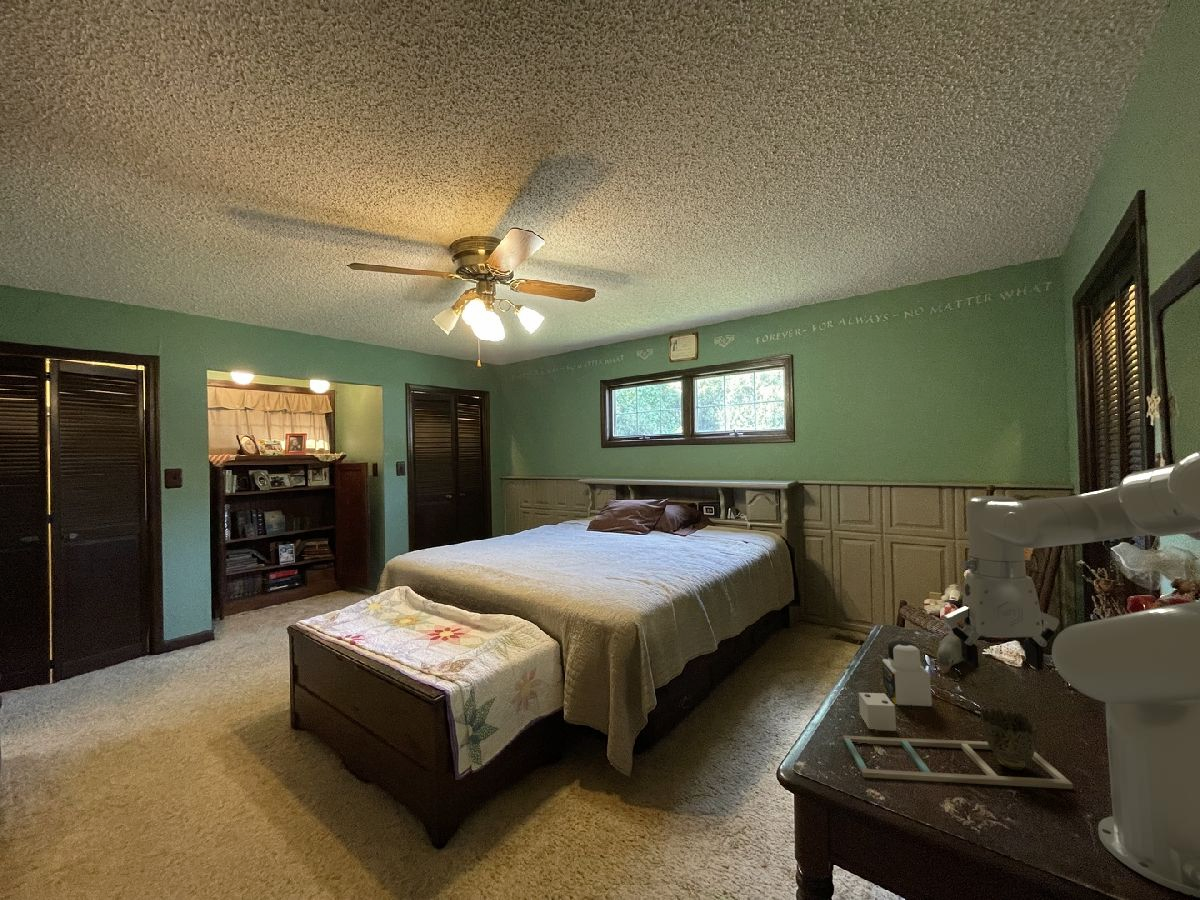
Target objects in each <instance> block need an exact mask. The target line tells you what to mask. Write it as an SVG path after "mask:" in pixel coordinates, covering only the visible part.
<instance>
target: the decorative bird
mask: <svg viewBox="0 0 1200 900" xmlns="http://www.w3.org/2000/svg"><path fill="white" fill-rule="evenodd" d="M959 629H960V630H962V629H963V628H962V627H959ZM936 660H937V662H938V666H939V668H940V670H941V672H942V673H943V674H945V673H946V674H947V673H948V672H949V671H950V670H951V668H952V666H954V665H957V664H960V663H961V662H962V661H964V659H963V658H962V648H961V640H960V639H959V638H958V637H957V636H956V635H955V634H953V633H952V632H951V631H950V630H949V629H948V632H947V633H944V634H943V635H942V636H941V637H940V640H939V642H938V650H937V652H936Z"/></svg>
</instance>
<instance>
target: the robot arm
mask: <svg viewBox="0 0 1200 900" xmlns="http://www.w3.org/2000/svg"><path fill="white" fill-rule="evenodd" d="M966 517H967V518H966V519H967V535H968V551H969V552H968V556H967V560H962V562H961V566H962V568H963V569H964V570H968V571H969V572H966V574H965V579H964V583H963V591H962V605H961V607H960V608H958V609H955V610H954V611H952V612H949V613H948V614H945V615H944V616H943V617H942V619H943V621H944V623H945V625H946V626H947V627H948V631H949V630H950V631H951V632H952V633H953V634H955V635H956V636H957V637H958V638H959V639H960V640H961V648H962V658H963V661H964V662H965V663H966V664H967V665H969V667H972V669H978V668H979V650H978V649H979V648H978V645H976V644H975V643H976V641H977V640H978V639H979V638H980V637H981V636H982V637H987V638H1026V639H1024V660H1025V661H1024V662H1025V663H1026V664H1027V665H1029V666H1030V667H1032V668H1034V669H1035V670H1037V671H1038V670H1039V671H1043V669H1044V668H1043V667H1044V666H1043V664H1044V663H1045V662H1044V660H1045V659H1044V647H1046V646H1047V644H1048V641H1049V640H1050V639H1051V638H1052V637H1054V636H1055V631H1056V630H1057V627H1058V626H1059V624H1060V620H1059V618H1056V617H1054V616H1053V615H1049V614H1048V613H1045V612H1043V611H1042V610H1041V606H1040V602H1039V597H1038V593H1037V589H1036V587H1035V583H1034V580H1033V578H1032V577H1031V576H1029V575H1026V572H1027V571H1026V555H1025V553H1026V552H1025V549H1041V548H1042V549H1043V548H1053V547H1058V546H1060V547H1061V546H1067V545H1080V544H1088V543H1095V542H1103V541H1109V540H1110V541H1112V540H1118V539H1125V538H1127V539H1128V538H1133V537H1143V536H1150V535H1151V536H1154V537H1159V538H1161V537H1166V536H1176V535H1183V534H1191V533H1193V534H1194V533H1199V532H1200V450H1197V451H1196V452H1193V453H1191V454H1189V455H1187V456H1186V457H1184V458H1182V460H1180V461H1179V462H1176V463H1172V464H1167V465H1163V466H1157V467H1153V468H1149V469H1145V470H1140V471H1136V472H1132V473H1130V474H1127V475H1126V476H1125V477H1123V478H1122V480H1121V481H1120V483H1119V485H1117V486H1114V487H1110V488H1105V489H1100V490H1096V491H1090V492H1088V493H1082V494H1081V493H1080V494H1077V495H1070V496H1061V497H1057V496H1056V497H1047V498H1037V499H1024V500H1023V499H1022V500H1018V499H1017V498H1015V497H1011V496H1004V495H1003V496H1002V495H979V496H974V497H973V496H972V497H971V498H970V499H969V500H968V501H967V503H966ZM962 620H963V624H964V626H963V628H961V629H962V630H960V629H959V628H960V626H959V625H958V622H960V621H962ZM1042 621H1043V622H1042ZM1051 658H1052V662H1053V664H1054V667H1055V669H1056V671H1057V672H1058V674H1059V675H1060V676H1061V678H1062V679H1063V680H1064V681H1065V682H1067V683H1068V684H1069V685H1070V686H1071V687H1072V688H1074V689H1075V690H1077V691H1078V692H1080V693H1081V694H1083V695H1085V696H1087V697H1089V698H1091V699H1094V700H1097V701H1099V702H1104V703H1106V704H1105V705H1106V706H1105V721H1106V738H1107V739H1106V741H1107V750H1108V751H1107V754H1108V767H1109V778H1110V781H1109V782H1110V793H1111V806H1112V816H1108V817H1105V818H1102V820H1100V821H1099V823H1098V826H1097V827H1098V828H1097V831H1098V836H1099V840H1100V841H1101V843H1102V844H1103V846H1104V848H1106V850H1107V851H1108V852H1109V853H1110V854H1111V855H1113V857H1115V858H1116V859H1117V860H1119V861H1120V862H1121V863H1123V864H1124V865H1126V866H1127V867H1128V868H1130V869H1131V870H1133V871H1134V872H1136V873H1137V874H1140V875H1141V876H1143V877H1144V878H1147V879H1149V880H1151V881H1152V882H1155V883H1156V884H1158V885H1161V886H1163V887H1166V888H1168V889H1171V890H1173V891H1176V892H1178V891H1180V892H1179V893H1181V892H1182V894H1184V895H1187V896H1190V895H1193V896H1192V897H1194V896H1195V898H1199V899H1200V600H1199V601H1193V602H1186V603H1177V604H1171V605H1166V606H1161V607H1160V606H1159V607H1155V608H1149V609H1144V610H1140V611H1135V612H1131V613H1126V614H1121V615H1117V616H1111V617H1106V618H1101V619H1096V620H1091V621H1086V622H1082V623H1081V622H1080V623H1076V624H1072V625H1069V626H1067V627H1066V628H1065V627H1064V629H1063V630H1061V631H1060V632H1059V633H1058V634H1057V635H1056V636H1055V638H1054V641H1053V643H1052V646H1051Z"/></svg>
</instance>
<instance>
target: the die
mask: <svg viewBox="0 0 1200 900" xmlns="http://www.w3.org/2000/svg"><path fill="white" fill-rule="evenodd" d="M895 705H896V704H895V703H894V702H893V701H891V698H890V697H889V696H888V695H887V694H886V693H884V692H883V693H882V692H881V693H880V692H858V706H859V716H860V715H861V717H862V719H863V720H864V722H865V723H866V725H867V726H866V725H865V726H866V728H867V727H868V728H869V729H875V730H874V731H890V732H891V731H892V732H893V731H894V732H895V731H896V732H897V723H896V722H897V720H896V719H897V718H896V706H895ZM861 717H860V718H861ZM862 719H861V720H862ZM863 720H862V721H863ZM864 722H863V723H864ZM865 723H864V724H865ZM868 728H867V729H868ZM869 729H868V730H869Z"/></svg>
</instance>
